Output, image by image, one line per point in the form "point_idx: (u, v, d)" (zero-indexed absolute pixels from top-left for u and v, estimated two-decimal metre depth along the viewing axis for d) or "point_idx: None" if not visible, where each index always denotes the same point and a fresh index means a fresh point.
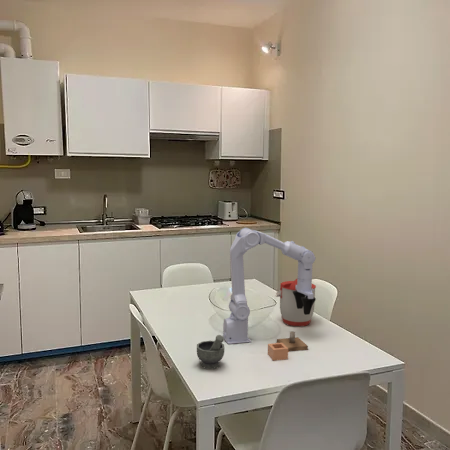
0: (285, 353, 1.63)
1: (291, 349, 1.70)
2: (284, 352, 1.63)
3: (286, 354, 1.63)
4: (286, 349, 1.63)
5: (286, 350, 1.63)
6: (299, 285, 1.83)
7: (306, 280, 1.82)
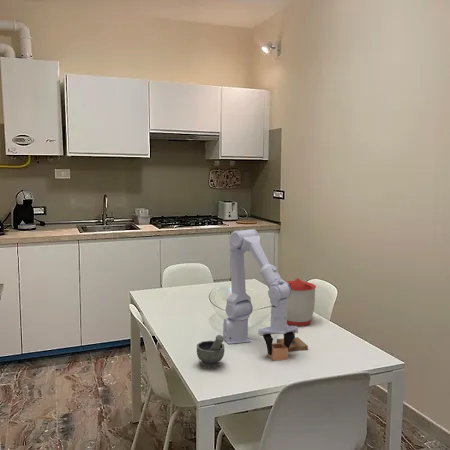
0: (285, 353, 1.63)
1: (291, 349, 1.70)
2: (284, 352, 1.63)
3: (286, 354, 1.63)
4: (286, 349, 1.63)
5: (286, 350, 1.63)
6: None
7: (271, 316, 1.63)
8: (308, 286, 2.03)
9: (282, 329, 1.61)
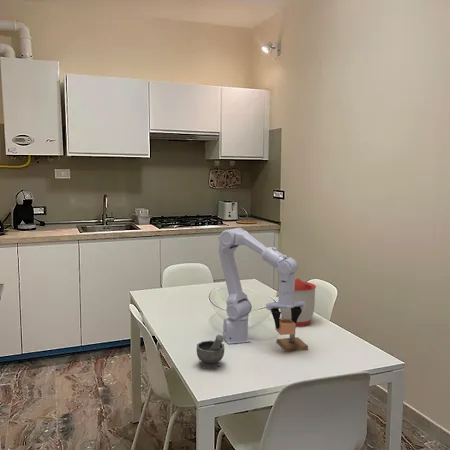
0: (292, 328, 1.66)
1: (291, 349, 1.70)
2: (291, 327, 1.66)
3: (293, 329, 1.66)
4: (293, 324, 1.66)
5: (293, 325, 1.66)
6: None
7: None
8: (308, 286, 2.03)
9: (289, 303, 1.65)
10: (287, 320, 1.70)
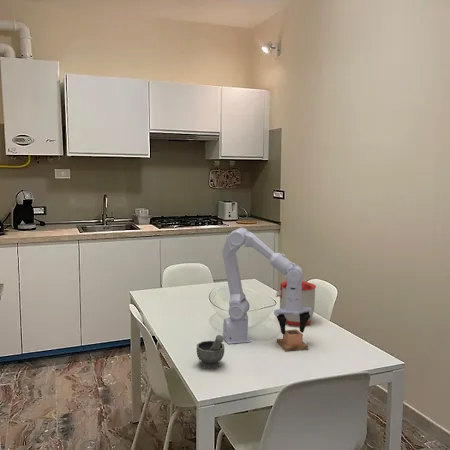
0: (300, 339, 1.73)
1: (291, 349, 1.70)
2: (299, 338, 1.72)
3: (301, 340, 1.73)
4: (301, 335, 1.72)
5: (301, 336, 1.72)
6: None
7: (286, 298, 1.73)
8: (308, 286, 2.03)
9: (297, 309, 1.71)
10: (294, 331, 1.77)
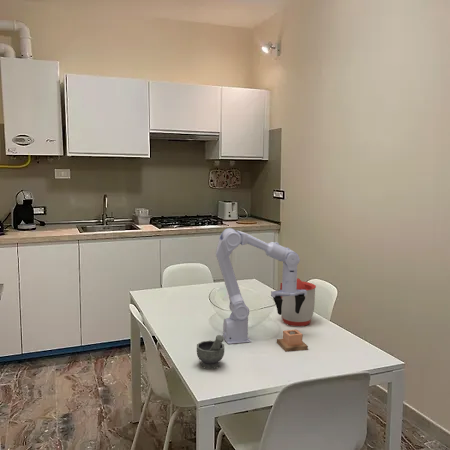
0: (300, 339, 1.73)
1: (291, 349, 1.70)
2: (299, 338, 1.72)
3: (301, 340, 1.73)
4: (301, 335, 1.72)
5: (301, 336, 1.72)
6: None
7: (282, 280, 1.81)
8: (308, 286, 2.03)
9: (292, 291, 1.79)
10: (294, 331, 1.77)
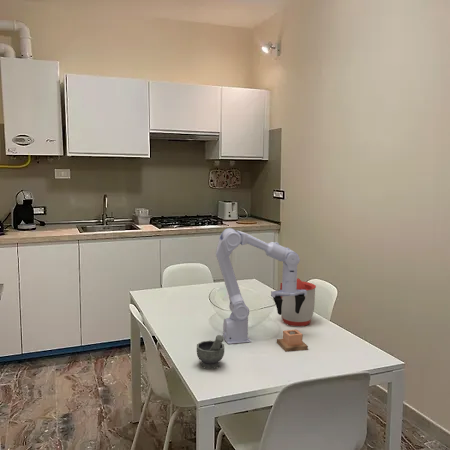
0: (300, 339, 1.73)
1: (291, 349, 1.70)
2: (299, 338, 1.72)
3: (301, 340, 1.73)
4: (301, 335, 1.72)
5: (301, 336, 1.72)
6: None
7: (282, 280, 1.81)
8: (308, 286, 2.03)
9: (292, 291, 1.79)
10: (294, 331, 1.77)
